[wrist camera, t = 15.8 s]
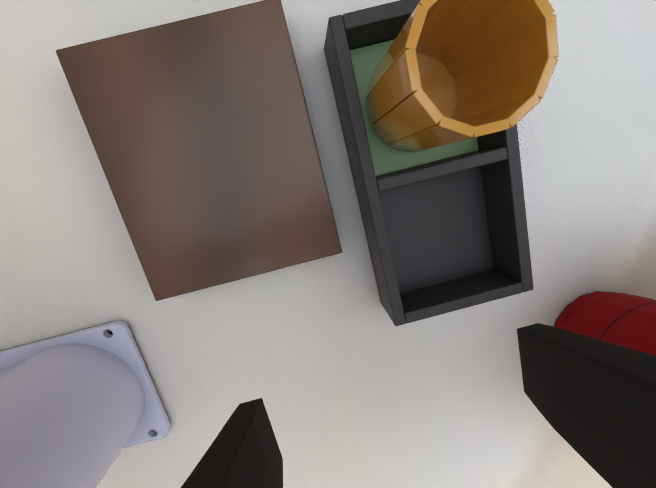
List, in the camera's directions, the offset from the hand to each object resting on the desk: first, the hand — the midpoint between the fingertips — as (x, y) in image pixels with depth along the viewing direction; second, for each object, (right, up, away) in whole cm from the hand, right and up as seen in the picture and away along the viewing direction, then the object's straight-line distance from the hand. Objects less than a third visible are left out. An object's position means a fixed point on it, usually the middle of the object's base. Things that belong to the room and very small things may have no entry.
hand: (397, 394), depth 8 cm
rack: (+3, +8, +9) cm, 13 cm away
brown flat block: (-8, +8, +8) cm, 14 cm away
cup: (+3, +11, +8) cm, 14 cm away
